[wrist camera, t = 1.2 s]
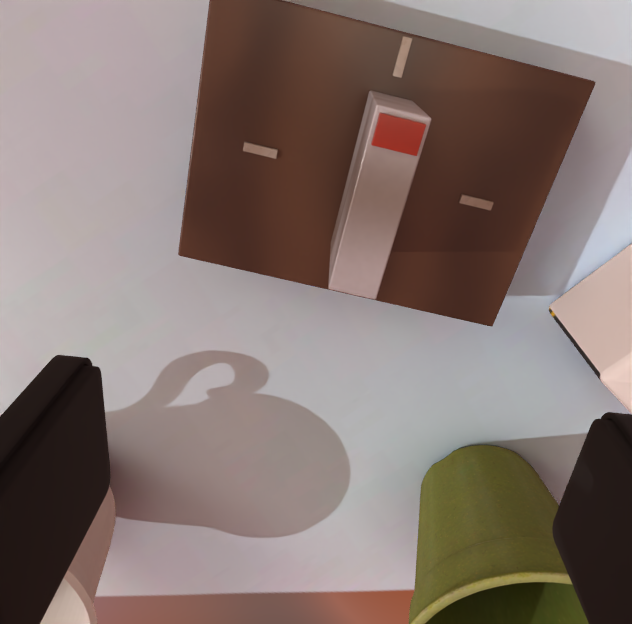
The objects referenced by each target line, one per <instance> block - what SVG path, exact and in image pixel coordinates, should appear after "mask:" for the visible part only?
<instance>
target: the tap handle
mask: <svg viewBox="0 0 632 624" xmlns="http://www.w3.org/2000/svg"><path fill="white" fill-rule="evenodd" d="M430 122H431V118H430V117H429V116H428V115H427V114H426V113H425V112H424V111H423V110H422V109H421V108H420V107H418V106H417V105H416V104H415V103H414V102H413V101H411V100H407V99H403V98H399V97H395V96H391V95H387V94H383V93H379V92H375V91H369V94H368V98H367V102H366V106H365V110H364V114H363V118H362V122H361V126H360V130H359V134H358V138H357V142H356V145H355V149H354V153H353V157H352V161H351V165H350V169H349V173H348V177H347V181H346V185H345V189H344V193H343V197H342V201H341V204H340V208H339V212H338V216H337V220H336V224H335V228H334V232H333V236H332V240H331V248H330V266H329V285H328V288H329V289H331V290H335V291H340V292H344V293H348V294H353V295H357V296H362V297H366V298H370V299H376V298H377V294H378V291H379V288H380V285H381V281H382V278H383V275H384V272H385V268H386V265H387V262H388V259H389V255H390V252H391V249H392V246H393V242H394V239H395V236H396V233H397V229H398V226H399V223H400V220H401V216H402V213H403V210H404V207H405V203H406V200H407V197H408V194H409V190H410V187H411V184H412V181H413V177H414V174H415V171H416V168H417V165H418V161H419V158H420V155H421V152H422V148H423V145H424V142H425V139H426V135H427V132H428V129H429V126H430Z"/></svg>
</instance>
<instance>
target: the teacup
mask: <svg viewBox="0 0 632 624" xmlns="http://www.w3.org/2000/svg"><path fill="white" fill-rule="evenodd" d="M115 517H116V507H115V501H114V496H113V493H112V490H111V488H110V486H109V489H108V492H107V494H106V496H105V498H104V500H103V502H102V504H101V506H100V508H99V510H98V512H97V514H96V516H95V518H94V520H93V522H92V524H91V526H90V528H89V530H88V531H87V533H86V535H85V537H84V539H83V541H82V543H81V545H80V547H79V549H78V551H77V553H76V555H75V557H74V559H73V561H72V563H71V565H70V566H69V568H68V570H67V572H66V574H65V576H64V578H63V580H62V582H61V584H60V586H59V588H58V590H57V592H56V594H55V596H54V598H53V600H52V601H51V603H50V605H49V607H48V609H47V611H46V613H45V615H44V617H43V619H42V621H41V623H40V624H97V616H96V611H95V608H94V606H93V603H94V599H95V594H96V590H97V587H98V584H99V580H100V577H101V574H102V570H103V567H104V564H105V561H106V557H107V554H108V551H109V548H110V544H111V540H112V535H113V531H114V526H115Z"/></svg>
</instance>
